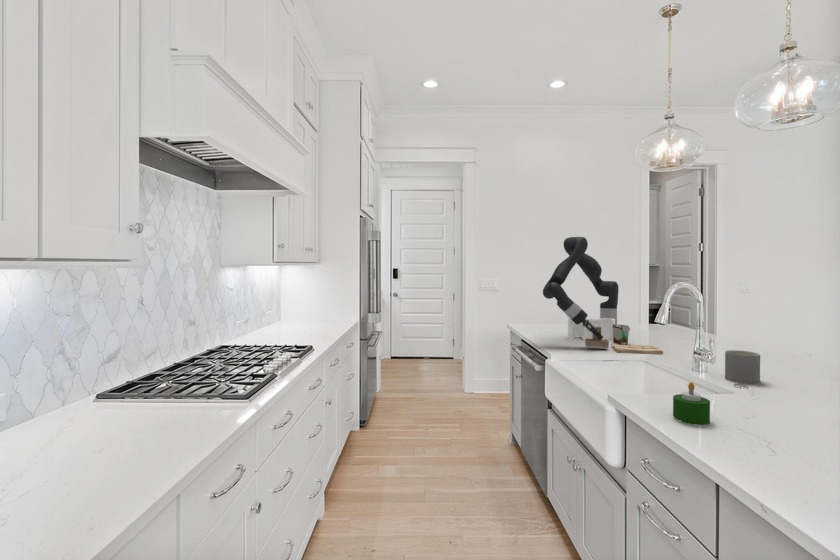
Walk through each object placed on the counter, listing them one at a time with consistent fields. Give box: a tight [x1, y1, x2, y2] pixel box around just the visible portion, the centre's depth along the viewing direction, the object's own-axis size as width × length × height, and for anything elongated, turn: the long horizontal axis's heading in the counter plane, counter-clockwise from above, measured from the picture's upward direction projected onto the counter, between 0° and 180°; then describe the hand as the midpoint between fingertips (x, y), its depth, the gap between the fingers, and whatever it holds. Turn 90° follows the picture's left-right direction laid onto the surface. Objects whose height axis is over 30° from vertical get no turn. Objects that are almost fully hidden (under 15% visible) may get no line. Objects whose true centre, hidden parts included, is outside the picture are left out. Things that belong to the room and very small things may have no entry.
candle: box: [672, 381, 711, 426], centre depth 111 cm, size 8×8×10 cm
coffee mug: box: [724, 349, 761, 385], centre depth 151 cm, size 13×10×10 cm
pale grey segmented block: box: [567, 317, 615, 342], centre depth 239 cm, size 25×10×12 cm, turn 72°
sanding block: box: [584, 327, 610, 349], centre depth 209 cm, size 6×10×10 cm, turn 76°
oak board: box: [610, 343, 664, 355], centre depth 205 cm, size 14×20×2 cm
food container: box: [612, 323, 631, 345], centre depth 223 cm, size 12×6×10 cm, turn 179°
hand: (601, 337), depth 209 cm, fingers closed on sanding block, 3 cm apart
